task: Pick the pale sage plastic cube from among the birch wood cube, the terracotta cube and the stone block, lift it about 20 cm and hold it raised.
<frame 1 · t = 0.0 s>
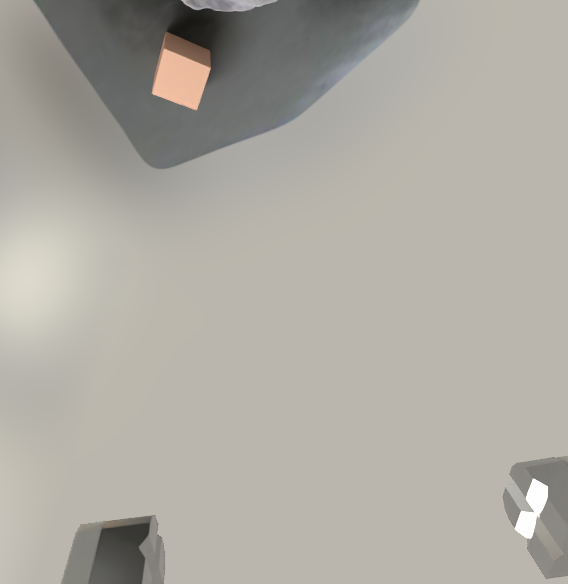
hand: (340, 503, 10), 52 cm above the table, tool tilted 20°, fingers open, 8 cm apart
terracotta cube: (181, 62, 51), on the table
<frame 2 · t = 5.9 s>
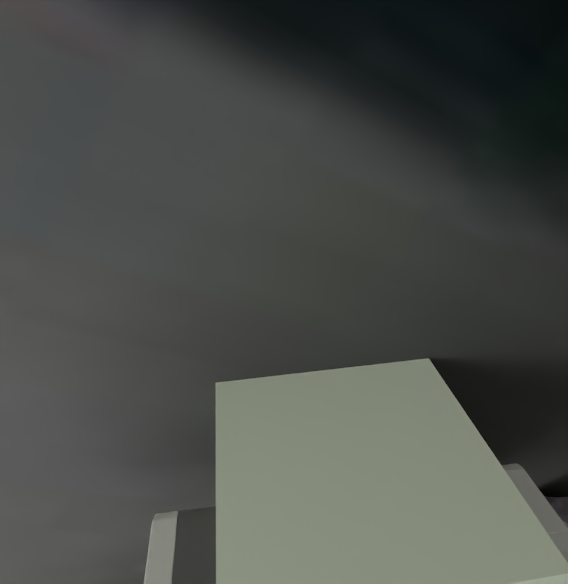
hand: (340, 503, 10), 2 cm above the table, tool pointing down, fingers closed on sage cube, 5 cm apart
sage cube: (323, 443, 12), on the table, touching gripper
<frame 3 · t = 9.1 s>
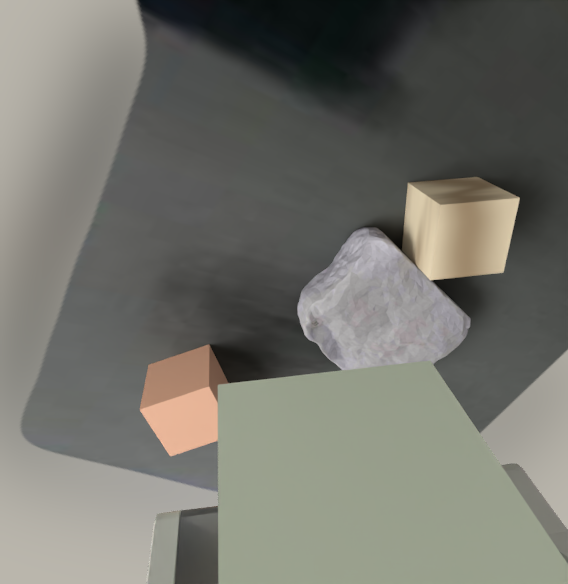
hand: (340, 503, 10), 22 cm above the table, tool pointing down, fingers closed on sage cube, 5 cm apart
terracotta cube: (191, 377, 36), on the table
stone block: (369, 305, 35), on the table
birch cube: (437, 214, 32), on the table
sage cube: (325, 448, 12), point 21 cm above the table, touching gripper
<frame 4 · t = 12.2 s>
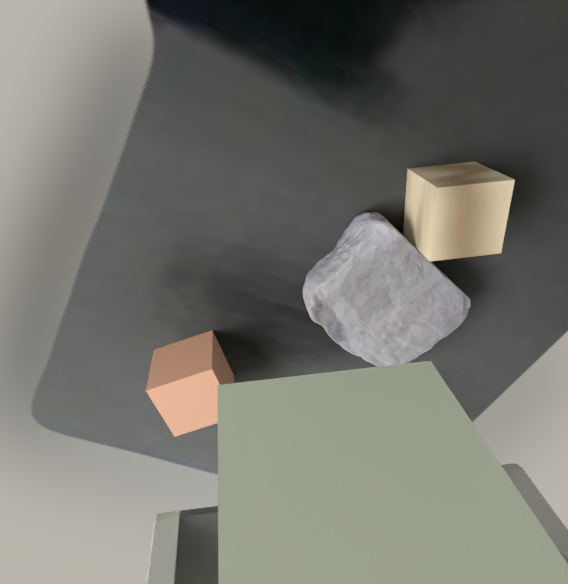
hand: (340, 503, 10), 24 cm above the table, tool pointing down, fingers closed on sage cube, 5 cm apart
terracotta cube: (195, 362, 37), on the table
stone block: (372, 289, 37), on the table
birch cube: (437, 198, 33), on the table
sage cube: (325, 448, 12), point 22 cm above the table, touching gripper
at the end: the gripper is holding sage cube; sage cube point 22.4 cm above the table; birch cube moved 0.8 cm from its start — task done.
